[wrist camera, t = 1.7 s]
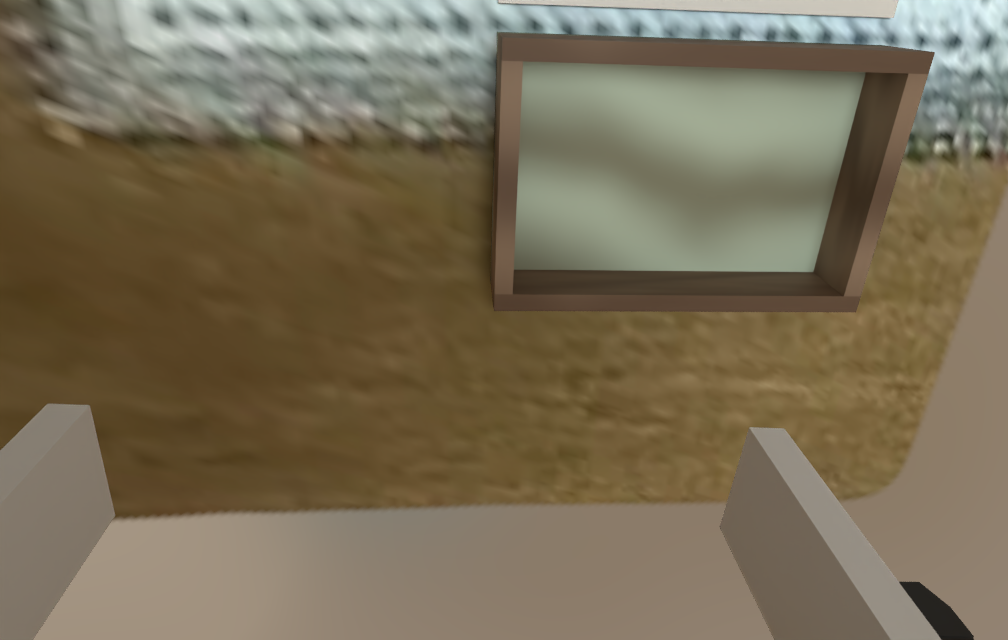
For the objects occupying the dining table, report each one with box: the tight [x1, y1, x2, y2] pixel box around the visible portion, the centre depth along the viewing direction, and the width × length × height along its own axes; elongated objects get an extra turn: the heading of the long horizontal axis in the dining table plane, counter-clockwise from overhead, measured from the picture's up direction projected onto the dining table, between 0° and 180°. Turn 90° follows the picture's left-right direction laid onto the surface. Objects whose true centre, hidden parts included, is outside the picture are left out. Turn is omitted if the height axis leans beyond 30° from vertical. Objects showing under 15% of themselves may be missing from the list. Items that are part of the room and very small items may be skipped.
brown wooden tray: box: [490, 32, 935, 312], centre depth 29 cm, size 11×17×4 cm, turn 88°
